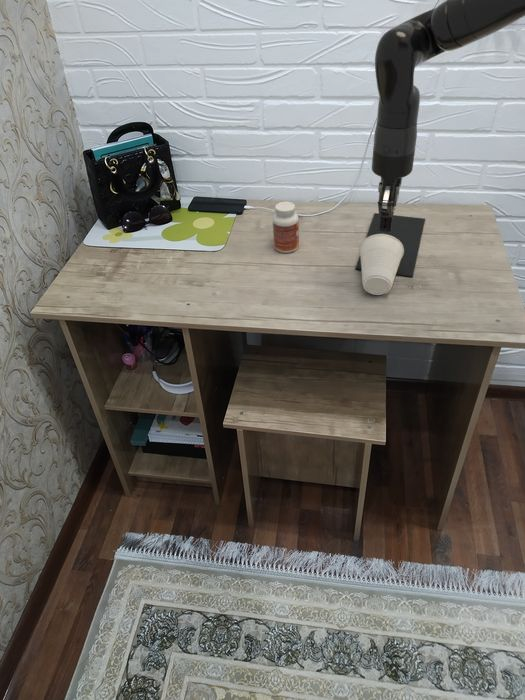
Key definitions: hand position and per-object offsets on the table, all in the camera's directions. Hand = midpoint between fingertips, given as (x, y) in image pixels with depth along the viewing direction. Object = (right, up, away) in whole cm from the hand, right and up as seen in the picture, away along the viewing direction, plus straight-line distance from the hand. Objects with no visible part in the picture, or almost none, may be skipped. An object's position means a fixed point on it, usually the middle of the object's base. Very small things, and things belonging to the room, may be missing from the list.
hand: (385, 229), depth 116 cm
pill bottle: (-19, +1, +25) cm, 31 cm away
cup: (-1, -11, +6) cm, 12 cm away
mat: (+7, +2, +23) cm, 24 cm away
